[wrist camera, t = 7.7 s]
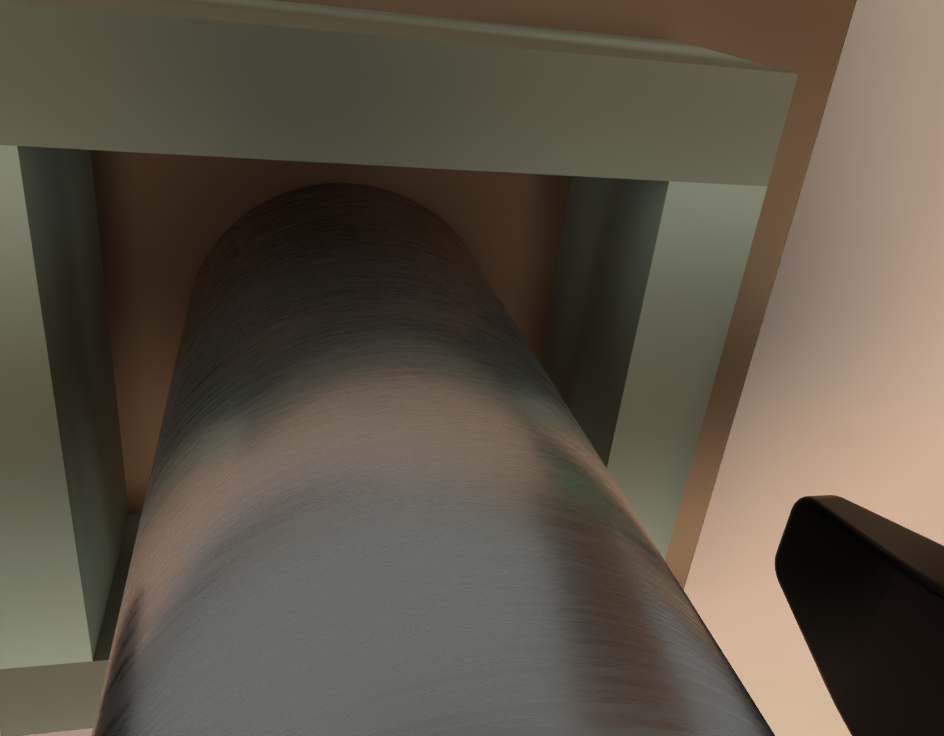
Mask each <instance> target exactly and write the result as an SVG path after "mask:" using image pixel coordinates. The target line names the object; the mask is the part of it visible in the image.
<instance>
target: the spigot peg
mask: <svg viewBox="0 0 944 736" xmlns="http://www.w3.org/2000/svg"><path fill="white" fill-rule="evenodd" d="M92 736H775V735H774V733H773V732H772V730H771V728H770V727H769V725H768V724H767V722H766V720H765V719H764V717H763V716H762V714H761V713H760V711H759V709H758V708H757V706H756V705H755V703H754V701H753V700H752V698H751V697H750V695H749V694H748V692H747V690H746V689H745V687H744V686H743V684H742V682H741V681H740V679H739V678H738V676H737V674H736V673H735V671H734V670H733V668H732V667H731V665H730V663H729V662H728V660H727V659H726V657H725V655H724V654H723V652H722V651H721V649H720V647H719V646H718V644H717V643H716V641H715V640H714V638H713V636H712V635H711V633H710V632H709V630H708V628H707V627H706V625H705V624H704V622H703V621H702V619H701V617H700V616H699V614H698V613H697V611H696V609H695V608H694V606H693V605H692V603H691V601H690V600H689V598H688V597H687V595H686V594H685V592H684V590H683V589H682V587H681V586H680V584H679V582H678V581H677V579H676V578H675V576H674V575H673V573H672V571H671V570H670V568H669V567H668V565H667V563H666V562H665V560H664V559H663V557H662V555H661V554H660V552H659V551H658V549H657V548H656V546H655V544H654V543H653V541H652V540H651V538H650V536H649V535H648V533H647V532H646V530H645V528H644V527H643V525H642V524H641V522H640V521H639V519H638V517H637V516H636V514H635V513H634V511H633V509H632V508H631V506H630V505H629V503H628V502H627V500H626V498H625V497H624V495H623V494H622V492H621V490H620V489H619V487H618V486H617V484H616V482H615V481H614V479H613V478H612V476H611V475H610V473H609V471H608V470H607V468H606V467H605V465H604V463H603V462H602V460H601V459H600V457H599V456H598V454H597V452H596V451H595V449H594V448H593V446H592V444H591V443H590V441H589V440H588V438H587V436H586V435H585V433H584V432H583V430H582V429H581V427H580V425H579V424H578V422H577V421H576V419H575V417H574V416H573V414H572V413H571V411H570V409H569V408H568V406H567V405H566V403H565V402H564V400H563V398H562V397H561V395H560V394H559V392H558V390H557V389H556V387H555V386H554V384H553V383H552V381H551V379H550V378H549V376H548V375H547V373H546V371H545V370H544V368H543V367H542V365H541V363H540V362H539V360H538V359H537V357H536V356H535V354H534V352H533V351H532V349H531V348H530V346H529V344H528V343H527V341H526V340H525V338H524V337H523V335H522V333H521V332H520V330H519V329H518V327H517V325H516V324H515V322H514V321H513V319H512V317H511V316H510V314H509V313H508V311H507V310H506V308H505V306H504V305H503V303H502V302H501V300H500V298H499V297H498V295H497V294H496V292H495V290H494V289H493V287H492V286H491V284H490V283H489V281H488V279H487V278H486V276H485V275H484V273H483V271H482V270H481V268H480V267H479V265H478V264H477V262H476V260H475V259H474V257H473V256H472V254H471V252H470V251H469V249H468V248H467V246H466V245H465V244H464V242H463V241H462V240H461V238H460V237H459V236H458V235H457V233H456V232H455V231H454V230H453V229H452V228H451V227H450V226H449V225H448V224H447V223H446V222H445V221H444V220H443V219H441V218H440V217H439V216H437V215H436V214H435V213H433V212H432V211H431V210H429V209H428V208H427V207H425V206H423V205H421V204H419V203H418V202H416V201H414V200H412V199H410V198H408V197H406V196H403V195H401V194H398V193H395V192H393V191H390V190H386V189H382V188H378V187H374V186H369V185H361V184H352V183H329V184H321V185H314V186H307V187H304V188H300V189H296V190H293V191H289V192H286V193H283V194H281V195H279V196H276V197H274V198H272V199H269V200H267V201H265V202H263V203H262V204H260V205H258V206H257V207H255V208H253V209H252V210H250V211H248V212H247V213H246V214H245V215H243V216H242V217H241V218H239V219H238V220H237V221H236V222H234V223H233V224H232V225H231V226H230V227H229V228H228V229H227V230H226V231H225V232H224V233H223V234H222V236H221V237H220V238H219V239H218V240H217V241H216V243H215V244H214V245H213V247H212V248H211V250H210V251H209V253H208V254H207V255H206V257H205V259H204V261H203V263H202V265H201V267H200V269H199V271H198V273H197V276H196V279H195V282H194V285H193V288H192V291H191V295H190V299H189V304H188V308H187V313H186V317H185V322H184V326H183V331H182V335H181V340H180V344H179V348H178V353H177V357H176V362H175V366H174V371H173V375H172V380H171V384H170V389H169V393H168V398H167V402H166V407H165V411H164V415H163V420H162V424H161V429H160V433H159V438H158V442H157V447H156V451H155V456H154V460H153V465H152V469H151V473H150V478H149V482H148V487H147V491H146V496H145V500H144V505H143V509H142V514H141V518H140V523H139V527H138V531H137V536H136V540H135V545H134V549H133V554H132V558H131V563H130V567H129V572H128V576H127V581H126V585H125V590H124V594H123V598H122V603H121V607H120V612H119V616H118V621H117V625H116V630H115V634H114V639H113V643H112V648H111V652H110V656H109V661H108V665H107V670H106V674H105V679H104V683H103V688H102V692H101V697H100V701H99V706H98V710H97V714H96V719H95V723H94V728H93V732H92Z"/></svg>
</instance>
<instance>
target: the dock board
mask: <svg viewBox="0 0 944 736" xmlns="http://www.w3.org/2000/svg"><path fill="white" fill-rule="evenodd" d="M855 4H856V0H0V732H1V736H19V735H29V734H38V733H48V732H58V731H68V730H78V729H87V728H94V723H95V719H96V714H97V710H98V706H99V701H100V697H101V692H102V688H103V683H104V679H105V674H106V670H107V665H108V661H109V656H110V652H111V648H112V643H113V639H114V634H115V630H116V625H117V621H118V616H119V612H120V607H121V603H122V598H123V594H124V590H125V585H126V581H127V576H128V572H129V567H130V563H131V558H132V554H133V549H134V545H135V540H136V536H137V531H138V527H139V523H140V518H141V514H142V509H143V505H144V500H145V496H146V491H147V487H148V482H149V478H150V473H151V469H152V465H153V460H154V456H155V451H156V447H157V442H158V438H159V433H160V429H161V424H162V420H163V415H164V411H165V407H166V402H167V398H168V393H169V389H170V384H171V380H172V375H173V371H174V366H175V362H176V357H177V353H178V348H179V344H180V340H181V335H182V331H183V326H184V322H185V317H186V313H187V308H188V304H189V299H190V295H191V291H192V288H193V285H194V282H195V279H196V276H197V273H198V271H199V269H200V267H201V265H202V263H203V261H204V259H205V257H206V255H207V254H208V253H209V251H210V250H211V248H212V247H213V245H214V244H215V243H216V241H217V240H218V239H219V238H220V237H221V236H222V234H223V233H224V232H225V231H226V230H227V229H228V228H229V227H230V226H231V225H232V224H233V223H234V222H236V221H237V220H238V219H239V218H241V217H242V216H243V215H245V214H246V213H247V212H248V211H250V210H252V209H253V208H255V207H257V206H258V205H260V204H262V203H263V202H265V201H267V200H269V199H272V198H274V197H276V196H279V195H281V194H283V193H286V192H289V191H293V190H296V189H300V188H304V187H307V186H314V185H321V184H329V183H352V184H361V185H369V186H374V187H378V188H382V189H386V190H390V191H393V192H395V193H398V194H401V195H403V196H406V197H408V198H410V199H412V200H414V201H416V202H418V203H419V204H421V205H423V206H425V207H427V208H428V209H429V210H431V211H432V212H433V213H435V214H436V215H437V216H439V217H440V218H441V219H443V220H444V221H445V222H446V223H447V224H448V225H449V226H450V227H451V228H452V229H453V230H454V231H455V232H456V233H457V235H458V236H459V237H460V238H461V240H462V241H463V242H464V244H465V245H466V246H467V248H468V249H469V251H470V252H471V254H472V256H473V257H474V259H475V260H476V262H477V264H478V265H479V267H480V268H481V270H482V271H483V273H484V275H485V276H486V278H487V279H488V281H489V283H490V284H491V286H492V287H493V289H494V290H495V292H496V294H497V295H498V297H499V298H500V300H501V302H502V303H503V305H504V306H505V308H506V310H507V311H508V313H509V314H510V316H511V317H512V319H513V321H514V322H515V324H516V325H517V327H518V329H519V330H520V332H521V333H522V335H523V337H524V338H525V340H526V341H527V343H528V344H529V346H530V348H531V349H532V351H533V352H534V354H535V356H536V357H537V359H538V360H539V362H540V363H541V365H542V367H543V368H544V370H545V371H546V373H547V375H548V376H549V378H550V379H551V381H552V383H553V384H554V386H555V387H556V389H557V390H558V392H559V394H560V395H561V397H562V398H563V400H564V402H565V403H566V405H567V406H568V408H569V409H570V411H571V413H572V414H573V416H574V417H575V419H576V421H577V422H578V424H579V425H580V427H581V429H582V430H583V432H584V433H585V435H586V436H587V438H588V440H589V441H590V443H591V444H592V446H593V448H594V449H595V451H596V452H597V454H598V456H599V457H600V459H601V460H602V462H603V463H604V465H605V467H606V468H607V470H608V471H609V473H610V475H611V476H612V478H613V479H614V481H615V482H616V484H617V486H618V487H619V489H620V490H621V492H622V494H623V495H624V497H625V498H626V500H627V502H628V503H629V505H630V506H631V508H632V509H633V511H634V513H635V514H636V516H637V517H638V519H639V521H640V522H641V524H642V525H643V527H644V528H645V530H646V532H647V533H648V535H649V536H650V538H651V540H652V541H653V543H654V544H655V546H656V548H657V549H658V551H659V552H660V554H661V555H662V557H663V559H664V560H665V562H666V563H667V565H668V567H669V568H670V570H671V571H672V573H673V575H674V576H675V578H676V579H677V581H678V582H679V584H680V586H681V587H682V589H683V590H684V586H685V583H686V580H687V576H688V573H689V569H690V566H691V563H692V559H693V556H694V552H695V549H696V545H697V542H698V539H699V535H700V532H701V528H702V525H703V522H704V518H705V515H706V511H707V508H708V505H709V501H710V498H711V494H712V491H713V488H714V484H715V481H716V477H717V474H718V471H719V467H720V464H721V460H722V457H723V454H724V450H725V447H726V443H727V440H728V436H729V433H730V430H731V426H732V423H733V419H734V416H735V413H736V409H737V406H738V402H739V399H740V396H741V392H742V389H743V385H744V382H745V379H746V375H747V372H748V368H749V365H750V362H751V358H752V355H753V351H754V348H755V345H756V341H757V338H758V334H759V331H760V327H761V324H762V321H763V317H764V314H765V310H766V307H767V304H768V300H769V297H770V293H771V290H772V287H773V283H774V280H775V276H776V273H777V270H778V266H779V263H780V259H781V256H782V253H783V249H784V246H785V242H786V239H787V236H788V232H789V229H790V225H791V222H792V218H793V215H794V212H795V208H796V205H797V201H798V198H799V195H800V191H801V188H802V184H803V181H804V178H805V174H806V171H807V167H808V164H809V161H810V157H811V154H812V150H813V147H814V144H815V140H816V137H817V133H818V130H819V127H820V123H821V120H822V116H823V113H824V109H825V106H826V103H827V99H828V96H829V92H830V89H831V86H832V82H833V79H834V75H835V72H836V69H837V65H838V62H839V58H840V55H841V52H842V48H843V45H844V41H845V38H846V35H847V31H848V28H849V24H850V21H851V18H852V14H853V11H854V7H855Z"/></svg>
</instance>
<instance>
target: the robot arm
mask: <svg viewBox="0 0 944 736" xmlns="http://www.w3.org/2000/svg"><path fill="white" fill-rule="evenodd" d="M775 571H776V575H777V578H778V581H779V583H780V586H781V588H782V590H783V592H784V594H785V597H786V599H787V601H788V603H789V606H790V608H791V610H792V612H793V614H794V617H795V619H796V621H797V623H798V625H799V628H800V630H801V632H802V634H803V636H804V639H805V641H806V643H807V645H808V647H809V650H810V652H811V654H812V656H813V659H814V661H815V663H816V665H817V667H818V670H819V672H820V674H821V676H822V678H823V681H824V683H825V685H826V687H827V689H828V691H829V693H830V695H831V697H832V699H833V702H834V704H835V706H836V708H837V710H838V711H839V713H840V715H841V717H842V719H843V721H844V722H845V724H846V726H847V728H848V730H849V732H850V733H851V735H852V736H944V546H943V545H941V544H939V543H936V542H934V541H932V540H930V539H928V538H926V537H924V536H922V535H920V534H918V533H915V532H913V531H911V530H909V529H907V528H905V527H903V526H901V525H899V524H897V523H894V522H892V521H890V520H888V519H886V518H884V517H882V516H880V515H878V514H875V513H873V512H871V511H869V510H867V509H865V508H863V507H861V506H859V505H857V504H854V503H852V502H850V501H848V500H846V499H844V498H842V497H839V496H834V495H824V496H806V497H803V498H800V499H799V500H798V501H797V502H796V503H795V504H794V506H793V508H792V510H791V513H790V516H789V518H788V521H787V524H786V527H785V530H784V533H783V535H782V538H781V541H780V544H779V547H778V550H777V553H776V556H775Z"/></svg>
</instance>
